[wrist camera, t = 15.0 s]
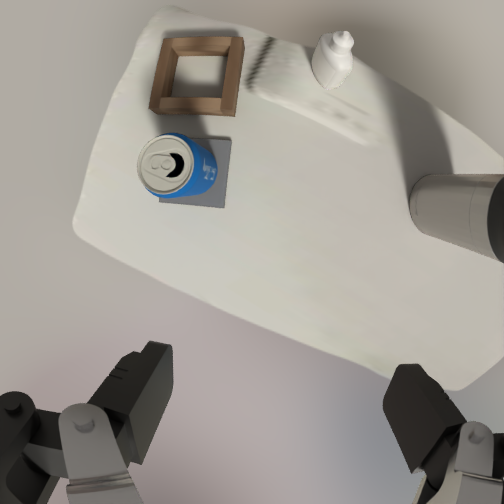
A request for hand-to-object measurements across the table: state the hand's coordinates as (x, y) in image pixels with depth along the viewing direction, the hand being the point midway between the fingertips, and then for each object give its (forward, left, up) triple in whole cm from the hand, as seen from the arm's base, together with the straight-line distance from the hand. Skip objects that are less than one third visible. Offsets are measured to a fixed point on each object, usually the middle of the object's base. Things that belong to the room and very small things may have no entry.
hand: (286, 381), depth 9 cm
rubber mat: (+11, -8, -30) cm, 33 cm away
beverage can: (+11, -8, -30) cm, 33 cm away
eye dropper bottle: (-5, -24, -30) cm, 39 cm away
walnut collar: (+12, -21, -30) cm, 39 cm away
